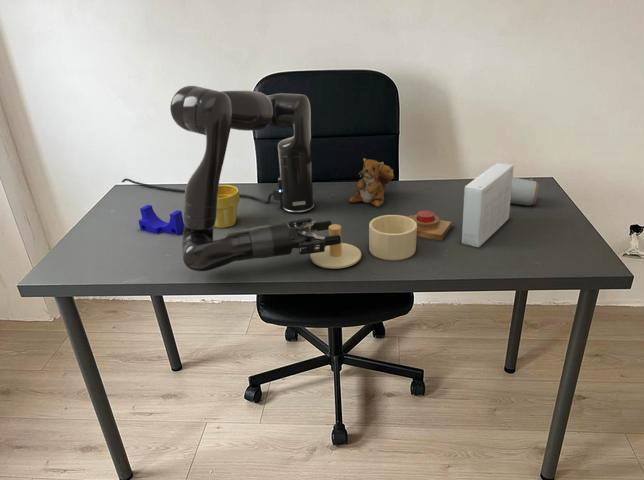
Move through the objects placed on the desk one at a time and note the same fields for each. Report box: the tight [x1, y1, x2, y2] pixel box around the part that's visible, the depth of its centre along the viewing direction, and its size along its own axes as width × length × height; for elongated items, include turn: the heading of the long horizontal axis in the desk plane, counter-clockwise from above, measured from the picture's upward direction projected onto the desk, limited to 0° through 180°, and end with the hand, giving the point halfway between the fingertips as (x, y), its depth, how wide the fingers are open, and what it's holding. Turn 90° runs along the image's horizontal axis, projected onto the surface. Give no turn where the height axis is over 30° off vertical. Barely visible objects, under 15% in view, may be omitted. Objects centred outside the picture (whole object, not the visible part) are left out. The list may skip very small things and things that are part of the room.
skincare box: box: [461, 162, 515, 248], centre depth 143 cm, size 21×5×16 cm, turn 145°
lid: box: [310, 223, 362, 269], centre depth 134 cm, size 13×13×9 cm
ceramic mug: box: [510, 176, 540, 206], centre depth 162 cm, size 11×8×8 cm
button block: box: [408, 213, 452, 242], centre depth 148 cm, size 12×9×4 cm
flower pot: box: [214, 184, 240, 229], centre depth 153 cm, size 10×10×10 cm
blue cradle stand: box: [138, 204, 185, 236], centre depth 151 cm, size 12×4×6 cm, turn 65°
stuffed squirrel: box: [348, 157, 395, 208], centre depth 165 cm, size 10×14×13 cm
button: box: [417, 210, 435, 223], centre depth 147 cm, size 4×4×2 cm
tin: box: [368, 214, 418, 261], centre depth 138 cm, size 12×12×7 cm
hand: (335, 231), depth 132 cm, fingers open, 8 cm apart
